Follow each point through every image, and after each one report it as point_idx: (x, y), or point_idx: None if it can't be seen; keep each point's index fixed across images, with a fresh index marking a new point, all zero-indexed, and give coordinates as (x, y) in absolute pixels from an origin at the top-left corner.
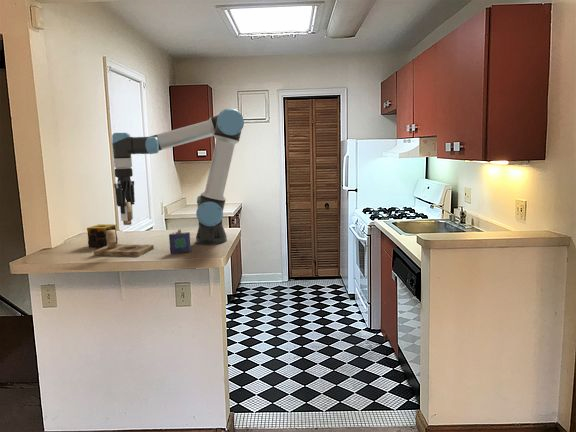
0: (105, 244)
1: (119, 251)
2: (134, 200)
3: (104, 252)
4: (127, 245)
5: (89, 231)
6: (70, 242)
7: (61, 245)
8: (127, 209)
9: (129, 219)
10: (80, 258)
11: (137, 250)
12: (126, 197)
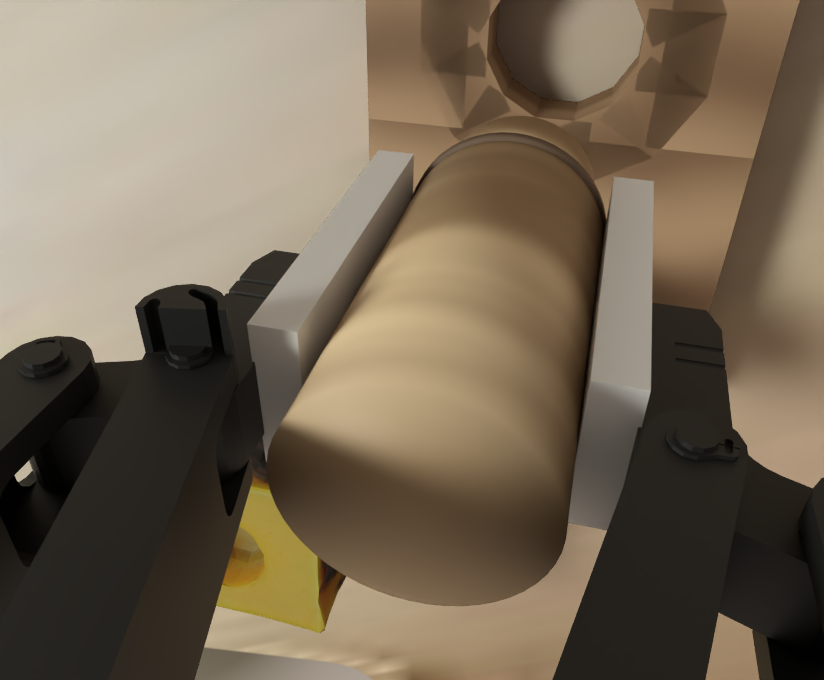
0: None
1: (763, 103)
2: (2, 369)
3: (715, 280)
4: (419, 143)
5: (332, 588)
6: (239, 621)
7: (327, 644)
8: (558, 311)
9: (562, 163)
10: (788, 435)
11: None
12: (193, 633)
